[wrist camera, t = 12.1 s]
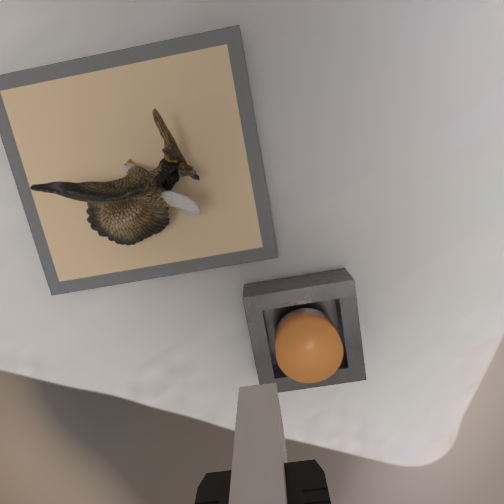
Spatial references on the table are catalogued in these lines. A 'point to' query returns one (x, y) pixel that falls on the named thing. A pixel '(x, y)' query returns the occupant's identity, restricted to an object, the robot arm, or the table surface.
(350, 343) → the button housing
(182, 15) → the table surface
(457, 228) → the table surface
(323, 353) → the button
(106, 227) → the eagle figurine
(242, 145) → the board
